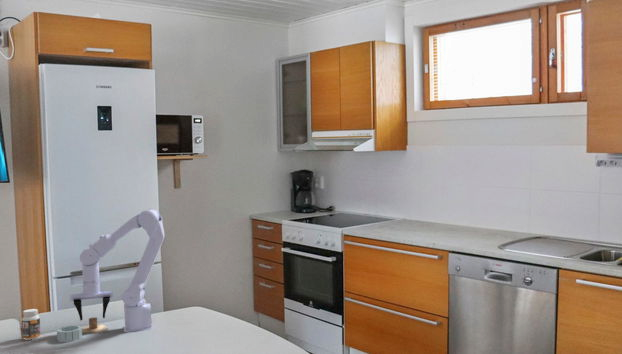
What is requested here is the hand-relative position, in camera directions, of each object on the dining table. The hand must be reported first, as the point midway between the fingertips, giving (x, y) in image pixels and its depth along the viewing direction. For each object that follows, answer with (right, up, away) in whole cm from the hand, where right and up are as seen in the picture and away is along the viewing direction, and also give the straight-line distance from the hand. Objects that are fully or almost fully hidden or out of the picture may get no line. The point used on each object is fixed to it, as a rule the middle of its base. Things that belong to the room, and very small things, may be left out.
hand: (92, 318), depth 219 cm
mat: (0, -5, 0) cm, 5 cm away
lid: (0, -4, 0) cm, 4 cm away
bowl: (-4, -5, -10) cm, 12 cm away
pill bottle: (-19, -6, -7) cm, 21 cm away
